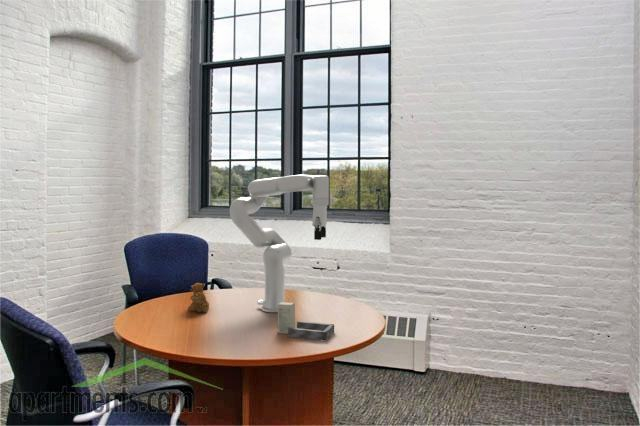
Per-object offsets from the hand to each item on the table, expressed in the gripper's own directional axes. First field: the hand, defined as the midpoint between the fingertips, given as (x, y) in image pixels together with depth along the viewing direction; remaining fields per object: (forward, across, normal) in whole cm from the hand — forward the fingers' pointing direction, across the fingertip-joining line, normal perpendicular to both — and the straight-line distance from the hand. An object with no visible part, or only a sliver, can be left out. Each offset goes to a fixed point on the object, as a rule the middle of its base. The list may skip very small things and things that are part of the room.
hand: (320, 238), depth 243 cm
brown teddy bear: (+36, +8, -57) cm, 68 cm away
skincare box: (+36, +31, -7) cm, 48 cm away
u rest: (+36, +32, +4) cm, 48 cm away
